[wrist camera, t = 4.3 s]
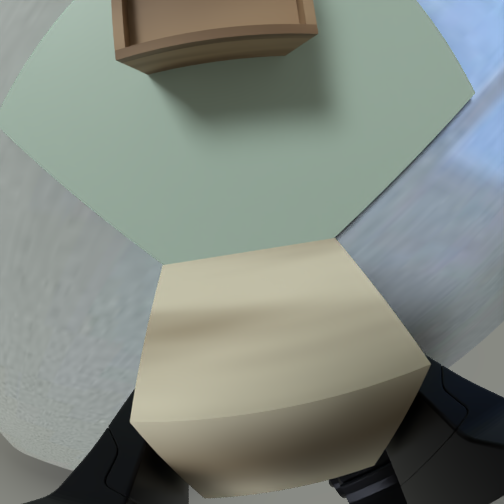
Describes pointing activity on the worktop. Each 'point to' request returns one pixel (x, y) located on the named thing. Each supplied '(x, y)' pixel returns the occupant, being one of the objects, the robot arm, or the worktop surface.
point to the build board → (236, 127)
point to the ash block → (272, 370)
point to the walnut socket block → (207, 30)
